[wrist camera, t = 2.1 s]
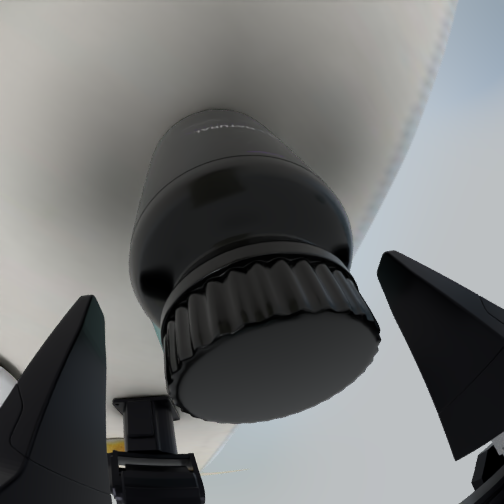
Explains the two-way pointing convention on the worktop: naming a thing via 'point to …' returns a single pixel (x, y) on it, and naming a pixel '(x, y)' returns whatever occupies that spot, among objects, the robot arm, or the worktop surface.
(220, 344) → the supplement bottle
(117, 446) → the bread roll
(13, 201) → the worktop surface
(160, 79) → the worktop surface
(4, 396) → the flower in vase
